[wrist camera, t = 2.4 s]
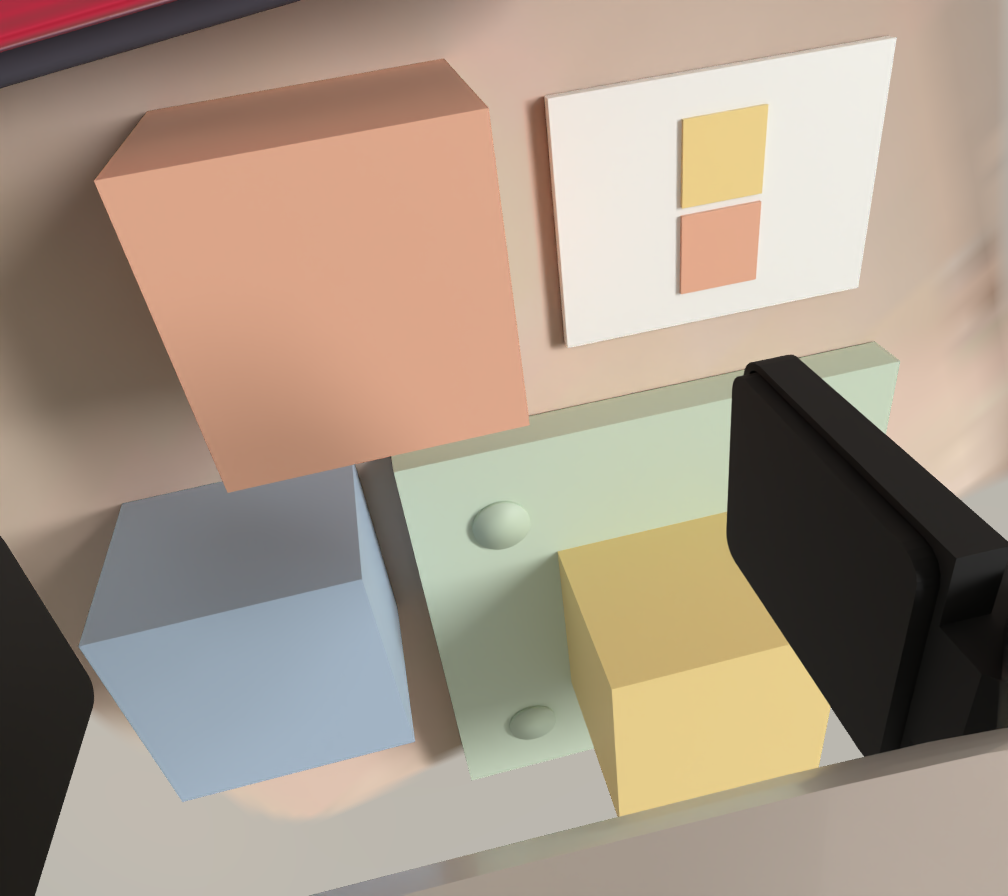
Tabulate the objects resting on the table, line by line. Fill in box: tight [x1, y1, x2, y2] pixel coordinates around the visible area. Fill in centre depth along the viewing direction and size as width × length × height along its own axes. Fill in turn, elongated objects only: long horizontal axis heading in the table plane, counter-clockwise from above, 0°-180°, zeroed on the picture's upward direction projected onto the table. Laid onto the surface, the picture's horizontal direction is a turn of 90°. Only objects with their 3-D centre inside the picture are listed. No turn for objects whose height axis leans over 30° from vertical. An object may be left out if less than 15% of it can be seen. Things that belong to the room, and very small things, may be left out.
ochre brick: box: [558, 512, 830, 817], centre depth 23 cm, size 6×6×5 cm
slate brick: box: [78, 464, 415, 802], centre depth 21 cm, size 6×6×5 cm
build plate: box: [391, 342, 900, 780], centre depth 25 cm, size 14×14×1 cm
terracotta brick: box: [94, 59, 530, 493], centre depth 16 cm, size 6×6×5 cm
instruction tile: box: [544, 36, 897, 348], centre depth 19 cm, size 6×8×1 cm
